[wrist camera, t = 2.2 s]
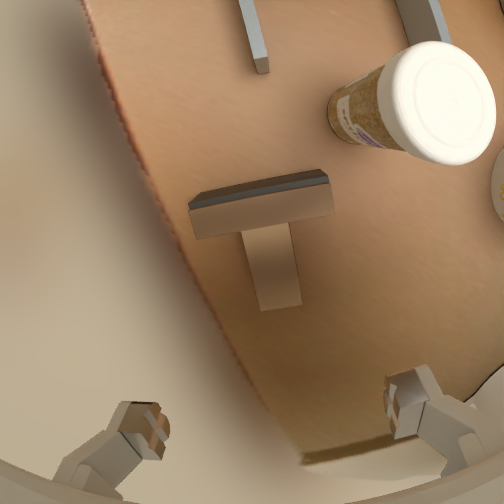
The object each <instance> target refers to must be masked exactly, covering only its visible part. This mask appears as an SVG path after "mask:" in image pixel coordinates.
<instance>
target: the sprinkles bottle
mask: <svg viewBox="0 0 504 504" xmlns="http://www.w3.org/2000/svg"><path fill="white" fill-rule="evenodd" d="M328 119H329V123H330V125H331V127H332V129H333V130H334V131H335V132H336V134H337V135H338V136H339V137H340V138H342V139H343V140H345V141H346V142H349V143H352V144H359V145H360V144H363V145H367V146H372V147H378V148H384V149H394V150H401V151H406V152H408V153H410V154H411V155H413V156H415V157H418V158H420V159H423V160H426V161H430V162H434V163H439V164H444V165H462V164H465V163H468V162H470V161H472V160H474V159H476V158H477V157H478V156H479V155H480V154H481V153H482V152H483V151H484V150H485V149H486V147H487V146H488V144H489V143H490V141H491V138H492V136H493V133H494V129H495V123H496V105H495V99H494V95H493V91H492V89H491V86H490V84H489V82H488V79H487V77H486V76H485V74H484V72H483V71H482V69H481V68H480V67H479V65H478V64H477V63H476V62H475V61H474V60H473V59H472V58H471V57H470V56H469V55H468V54H466V53H465V52H464V51H462V50H461V49H459V48H457V47H455V46H453V45H451V44H448V43H445V42H440V41H426V42H421V43H418V44H415V45H413V46H411V47H409V48H407V49H405V50H403V51H401V52H399V53H397V54H396V55H394V56H393V57H392V58H391V59H390V60H389V61H388V62H387V63H386V65H383V66H380V67H377V68H375V69H373V70H371V71H370V72H368V73H366V74H364V75H363V76H361V77H359V78H357V79H356V80H354V81H353V82H351V83H350V84H348V85H347V86H344V87H343V88H341V89H339V90H337V91H336V92H335V93H334V94H333V96H332V97H331V99H330V101H329V104H328Z"/></svg>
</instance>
